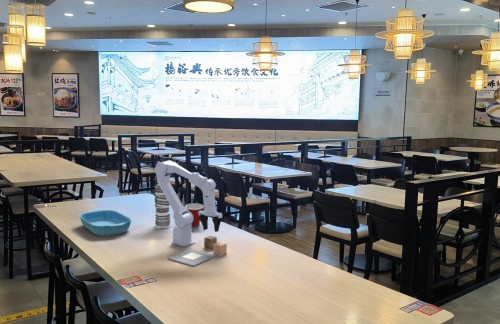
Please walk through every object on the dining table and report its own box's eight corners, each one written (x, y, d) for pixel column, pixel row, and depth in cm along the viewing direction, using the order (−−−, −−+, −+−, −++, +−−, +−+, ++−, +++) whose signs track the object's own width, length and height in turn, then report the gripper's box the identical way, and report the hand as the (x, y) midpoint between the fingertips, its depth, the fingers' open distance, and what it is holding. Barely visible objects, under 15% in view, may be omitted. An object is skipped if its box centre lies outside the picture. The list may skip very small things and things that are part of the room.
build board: (167, 259, 196) (167, 257, 196) (191, 249, 209) (191, 248, 209) (193, 266, 187) (193, 265, 187) (216, 256, 201) (216, 254, 200)
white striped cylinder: (155, 228, 244) (154, 185, 240) (154, 224, 253) (153, 183, 249) (171, 227, 246) (170, 185, 243) (170, 223, 255) (169, 182, 252)
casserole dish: (137, 233, 236) (137, 220, 235) (98, 240, 222) (97, 227, 221) (111, 219, 264) (111, 207, 263) (74, 225, 250) (74, 213, 249)
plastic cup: (186, 228, 245) (186, 208, 243) (184, 223, 255) (184, 204, 254) (205, 227, 248) (205, 207, 246) (202, 222, 258) (202, 203, 257)
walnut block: (204, 247, 213) (204, 237, 213) (209, 244, 217) (209, 235, 217) (211, 249, 211) (211, 239, 210) (216, 246, 215) (216, 237, 214)
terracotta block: (213, 254, 204) (213, 244, 203) (219, 251, 208) (219, 241, 207) (220, 256, 201) (220, 245, 201) (226, 253, 205) (226, 243, 204)
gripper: (225, 203, 210) (227, 230, 211) (204, 201, 219) (206, 226, 220) (216, 206, 204) (217, 233, 206) (194, 203, 213) (196, 230, 215)
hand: (211, 230), depth 213 cm, fingers open, 7 cm apart
